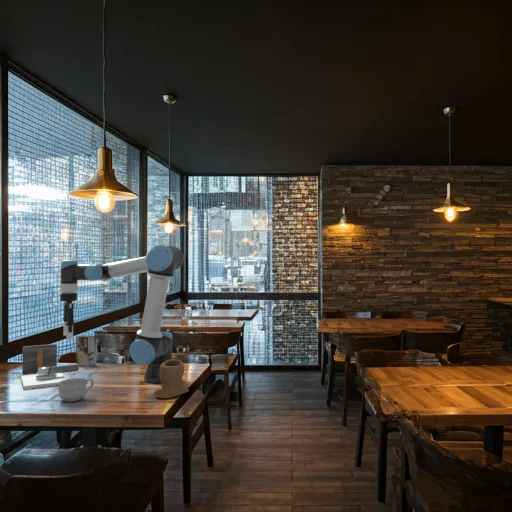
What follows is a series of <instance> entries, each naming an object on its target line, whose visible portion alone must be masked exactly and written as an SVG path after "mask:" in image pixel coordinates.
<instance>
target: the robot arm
mask: <svg viewBox="0 0 512 512" xmlns="http://www.w3.org/2000/svg"><path fill="white" fill-rule="evenodd" d="M184 259H185V258H184V254H183V252H182V250H181V249H179V248H178V247H176V246H173V245H165V244H160V245H159V244H157V245H154V246H152V247H151V248H150V249H149V250H148V251H147V253H146V255H145V256H141V257H137V258H136V257H135V258H130V259H125V260H121V261H115V262H111V263H105V264H104V263H103V264H94V263H93V264H80V263H79V260H73V259H72V260H70V259H69V260H67V259H64V260H62V261H61V265H60V285H58V288H60V292H61V293H59V294H60V296H59V297H60V298H59V300H60V301H61V302H63V316H62V317H63V318H62V319H63V333H62V334H63V336H65V337H66V340H74V324H75V320H74V319H75V317H74V308H75V306H74V303H73V302H76V301H78V292H79V291H78V285H79V284H78V281H91V282H93V281H94V282H95V281H107V280H108V281H109V280H111V279H114V278H120V277H126V276H133V275H137V274H141V273H142V274H143V273H147V274H148V276H149V281H148V288H147V292H146V297H145V298H146V299H145V303H144V304H145V305H144V310H143V315H142V320H141V327H140V329H138V330H137V331H136V336H135V339H134V341H132V342H131V344H130V346H129V352H128V353H129V355H130V358H131V359H132V361H133V362H134V363H135V364H137V365H141V366H144V365H145V366H146V369H145V370H144V375H143V381H144V382H145V383H149V382H150V383H149V384H161V380H160V375H159V372H160V365H161V364H162V363H163V362H165V361H167V360H171V359H173V333H172V332H171V331H161V327H162V324H163V323H162V321H163V315H164V311H165V306H166V299H167V293H168V289H169V282H170V280H171V279H172V278H173V277H174V274H175V271H177V270H178V269H180V268H181V267H182V266H183V263H184V261H185V260H184Z"/></svg>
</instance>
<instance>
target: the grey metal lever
mask: <svg viewBox="0 0 512 512" xmlns="http://www.w3.org/2000/svg"><path fill="white" fill-rule="evenodd" d="M74 372H79V365H78V364H76V363H75V364H73V363H72V364H64V365H57V366H52V367H39V368H38V373H37V374H38V375H37V376H36V379H39V380H45V379H52V378H55V377H57V373H62V374H63V373H66V374H67V373H74Z"/></svg>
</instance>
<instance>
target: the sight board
mask: <svg viewBox="0 0 512 512" xmlns="http://www.w3.org/2000/svg"><path fill="white" fill-rule="evenodd" d="M57 358H58V344H57V343H53V344H38V345H28V346H25V345H24V346H22V363H21V364H22V368H21V369H22V370H21V371H22V372H21V373H22V374H25V375H28V374H27V373H34V374H37V373H36V372H38V368H39V367H52V366H58V359H57Z"/></svg>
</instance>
